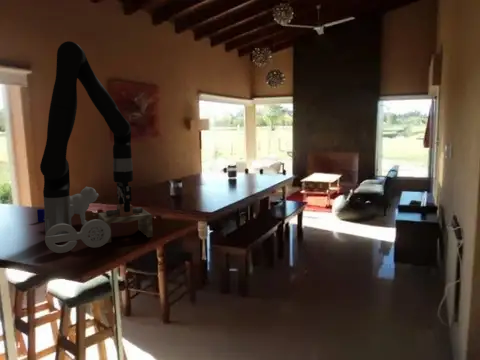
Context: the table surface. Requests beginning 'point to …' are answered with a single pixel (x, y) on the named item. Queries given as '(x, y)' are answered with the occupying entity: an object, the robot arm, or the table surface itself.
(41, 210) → the cable clip
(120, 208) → the tan block
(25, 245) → the table surface
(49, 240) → the gray double disc plate
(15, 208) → the table surface
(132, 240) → the table surface
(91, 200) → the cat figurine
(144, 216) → the shelf
